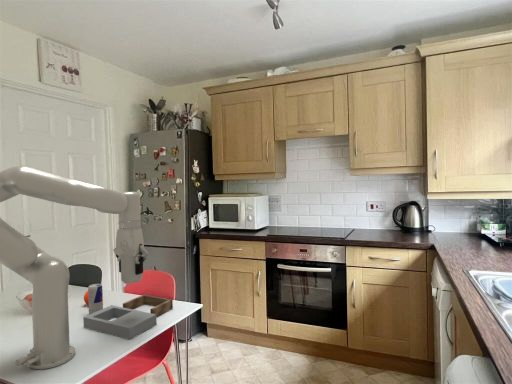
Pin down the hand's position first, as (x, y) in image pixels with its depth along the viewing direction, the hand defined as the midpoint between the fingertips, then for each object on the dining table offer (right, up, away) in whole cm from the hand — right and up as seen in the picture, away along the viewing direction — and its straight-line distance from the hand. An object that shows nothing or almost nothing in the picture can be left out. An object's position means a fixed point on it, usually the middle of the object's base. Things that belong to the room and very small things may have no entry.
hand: (131, 272), depth 122 cm
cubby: (0, -21, +18) cm, 27 cm away
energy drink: (-21, -21, +16) cm, 34 cm away
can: (0, -4, 0) cm, 4 cm away
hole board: (-5, -21, +4) cm, 22 cm away
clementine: (-28, -21, +27) cm, 44 cm away
